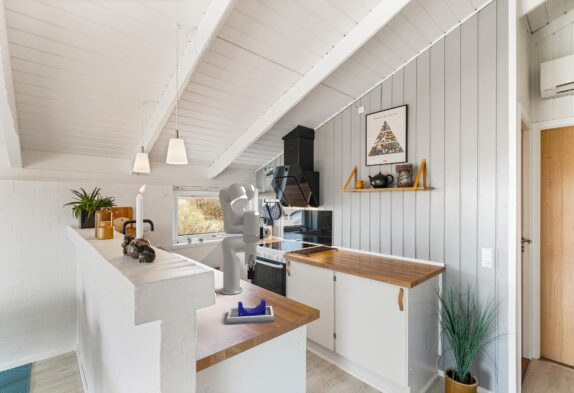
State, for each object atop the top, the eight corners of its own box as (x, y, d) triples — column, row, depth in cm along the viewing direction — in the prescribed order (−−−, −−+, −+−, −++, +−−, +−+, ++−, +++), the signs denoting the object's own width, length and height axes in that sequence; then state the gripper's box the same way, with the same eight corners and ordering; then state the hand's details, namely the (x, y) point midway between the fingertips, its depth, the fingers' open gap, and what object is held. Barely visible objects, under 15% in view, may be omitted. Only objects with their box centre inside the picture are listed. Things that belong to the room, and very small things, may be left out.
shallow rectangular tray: (229, 311, 132) (229, 306, 132) (271, 309, 135) (271, 305, 135) (226, 324, 118) (226, 319, 118) (274, 322, 121) (274, 316, 121)
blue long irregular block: (263, 310, 131) (263, 298, 131) (265, 314, 126) (265, 301, 126) (237, 314, 127) (237, 300, 127) (238, 317, 123) (239, 304, 123)
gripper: (243, 236, 135) (243, 271, 135) (242, 241, 118) (242, 282, 118) (259, 236, 136) (258, 271, 136) (260, 241, 119) (259, 281, 119)
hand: (250, 276), depth 127 cm, fingers open, 9 cm apart
